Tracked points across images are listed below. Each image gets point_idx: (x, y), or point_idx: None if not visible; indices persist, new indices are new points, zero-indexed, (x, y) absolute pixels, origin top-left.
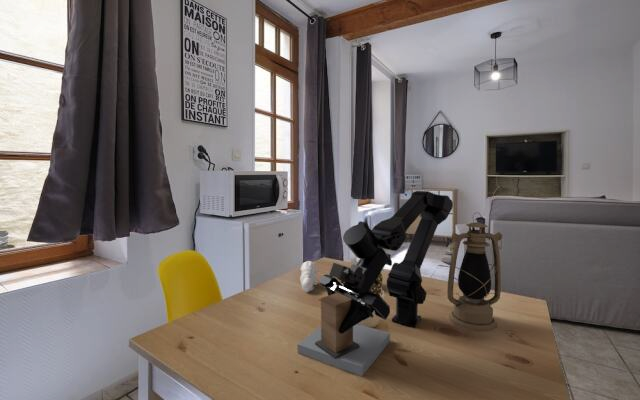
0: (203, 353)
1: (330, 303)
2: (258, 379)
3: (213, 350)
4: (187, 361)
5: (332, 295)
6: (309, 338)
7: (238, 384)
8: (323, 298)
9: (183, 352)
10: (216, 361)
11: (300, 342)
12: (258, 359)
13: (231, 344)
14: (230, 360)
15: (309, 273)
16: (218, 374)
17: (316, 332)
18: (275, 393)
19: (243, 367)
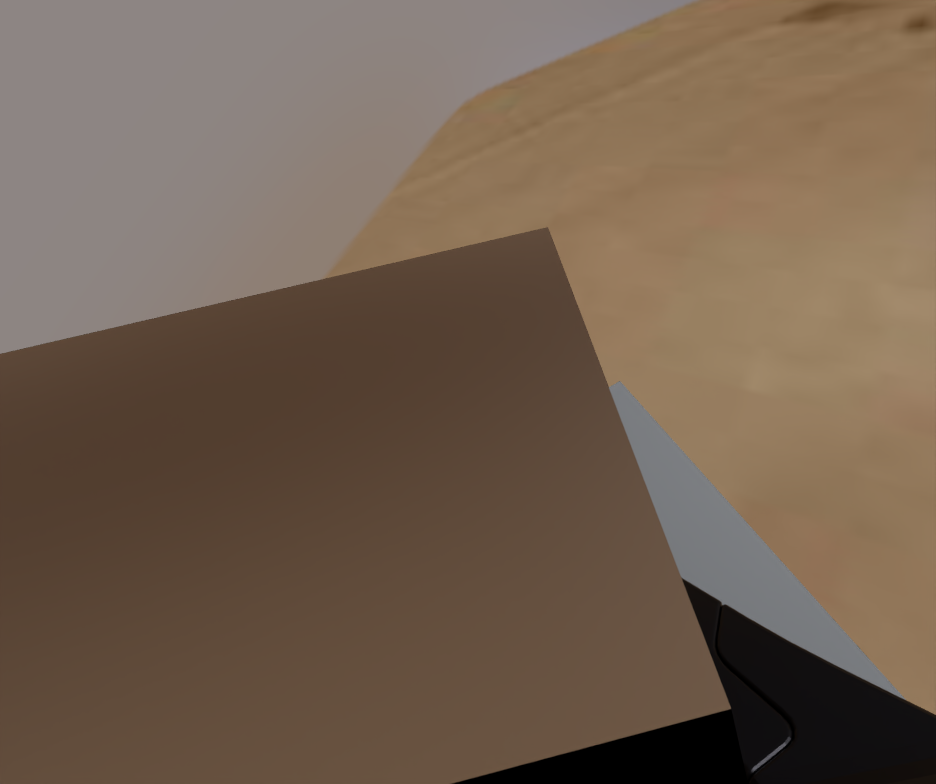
0: (746, 66)
1: (125, 338)
2: (467, 210)
3: (763, 91)
4: (698, 34)
5: (612, 717)
6: (675, 488)
7: (473, 156)
8: (474, 269)
9: (775, 19)
10: (664, 102)
11: (635, 405)
12: (618, 227)
13: (807, 145)
14: (653, 139)
15: None
16: (567, 109)
17: (771, 593)
18: (353, 247)
19: (577, 174)
